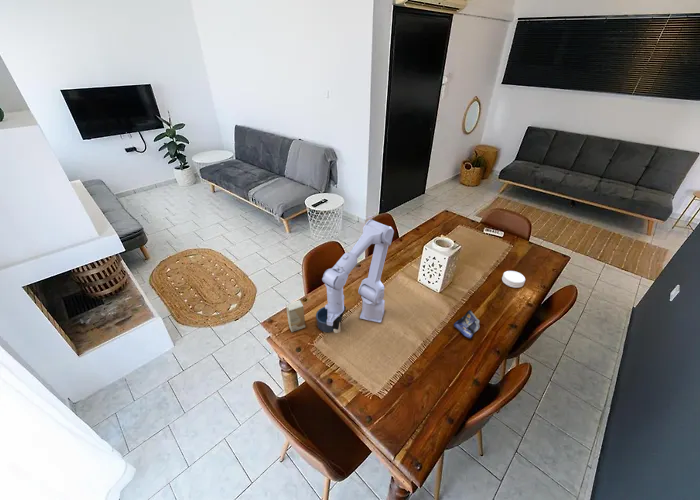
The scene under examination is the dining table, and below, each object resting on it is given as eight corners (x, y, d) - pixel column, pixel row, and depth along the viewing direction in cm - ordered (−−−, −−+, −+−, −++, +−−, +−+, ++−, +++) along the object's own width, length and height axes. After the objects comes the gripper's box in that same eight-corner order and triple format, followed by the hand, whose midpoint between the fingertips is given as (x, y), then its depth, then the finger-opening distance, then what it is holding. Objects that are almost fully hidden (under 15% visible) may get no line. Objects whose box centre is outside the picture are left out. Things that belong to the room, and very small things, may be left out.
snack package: (489, 337, 122) (475, 316, 131) (491, 327, 118) (476, 305, 128) (461, 344, 121) (448, 322, 131) (462, 334, 118) (448, 313, 127)
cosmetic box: (291, 332, 125) (288, 311, 118) (288, 325, 128) (284, 304, 122) (306, 327, 127) (303, 305, 121) (302, 320, 131) (300, 299, 124)
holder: (343, 317, 132) (342, 308, 129) (335, 334, 124) (335, 325, 121) (321, 312, 134) (321, 304, 132) (313, 329, 126) (312, 320, 124)
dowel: (341, 328, 118) (340, 312, 113) (339, 334, 115) (338, 318, 111) (334, 327, 118) (333, 311, 114) (332, 332, 116) (331, 316, 111)
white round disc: (518, 291, 145) (520, 285, 143) (497, 281, 151) (499, 275, 149) (527, 282, 150) (529, 276, 148) (507, 273, 157) (509, 267, 155)
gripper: (331, 284, 115) (333, 310, 122) (317, 310, 103) (320, 337, 110) (349, 287, 113) (349, 313, 120) (337, 314, 101) (338, 341, 109)
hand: (336, 325), depth 115 cm, fingers closed on dowel, 2 cm apart
